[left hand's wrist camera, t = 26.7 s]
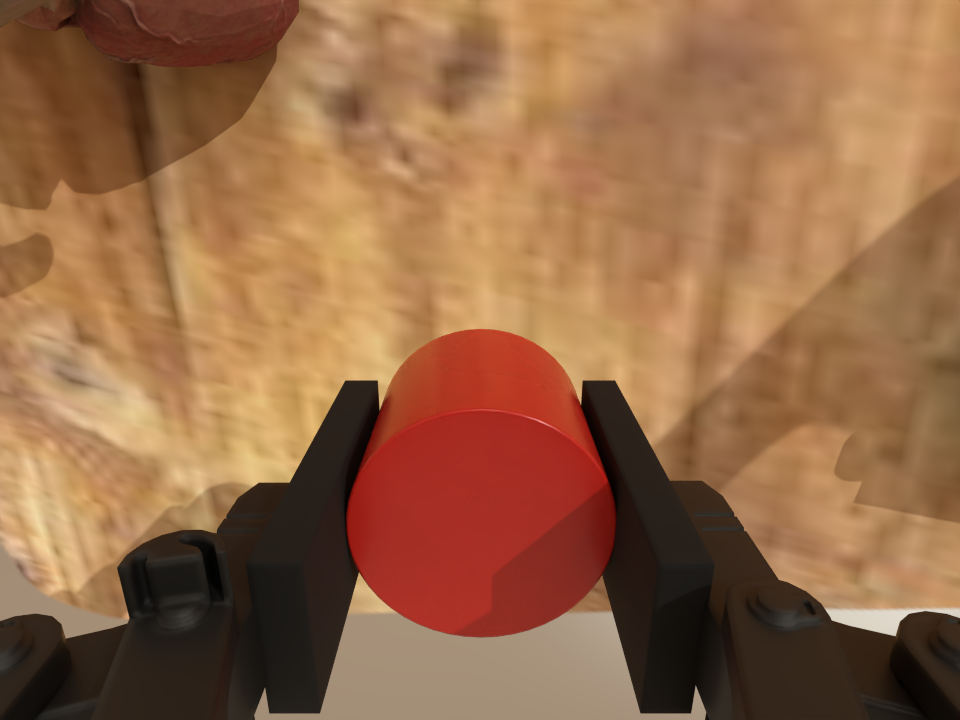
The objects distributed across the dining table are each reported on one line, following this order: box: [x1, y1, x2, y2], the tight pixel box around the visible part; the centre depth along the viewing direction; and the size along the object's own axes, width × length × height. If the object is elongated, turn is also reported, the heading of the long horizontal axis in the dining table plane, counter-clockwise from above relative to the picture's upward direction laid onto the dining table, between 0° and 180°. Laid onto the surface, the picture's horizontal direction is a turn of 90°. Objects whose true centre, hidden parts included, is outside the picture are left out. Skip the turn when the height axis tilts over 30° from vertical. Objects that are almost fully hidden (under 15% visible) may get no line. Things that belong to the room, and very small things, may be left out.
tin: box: [346, 329, 617, 637], centre depth 13 cm, size 5×5×4 cm
